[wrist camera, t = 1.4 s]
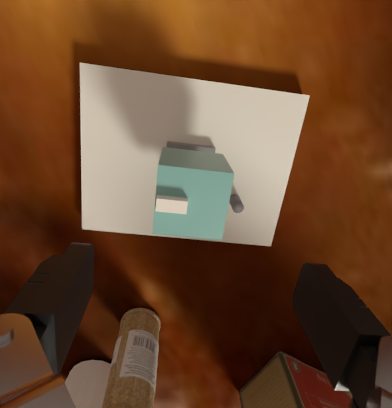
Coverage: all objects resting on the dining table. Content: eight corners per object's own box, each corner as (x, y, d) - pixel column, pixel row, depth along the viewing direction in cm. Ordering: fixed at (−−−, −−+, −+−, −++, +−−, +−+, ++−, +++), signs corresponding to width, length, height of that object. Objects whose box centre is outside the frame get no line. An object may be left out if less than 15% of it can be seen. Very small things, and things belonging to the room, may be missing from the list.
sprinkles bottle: (112, 320, 34) (73, 461, 21) (141, 298, 33) (118, 432, 20) (141, 342, 35) (120, 486, 23) (170, 322, 34) (164, 460, 22)
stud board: (302, 94, 25) (328, 97, 21) (266, 238, 30) (281, 265, 26) (85, 63, 24) (64, 59, 19) (86, 222, 29) (70, 247, 24)
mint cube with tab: (222, 154, 22) (236, 176, 17) (213, 208, 23) (223, 244, 18) (162, 146, 21) (157, 167, 16) (157, 203, 23) (151, 238, 18)
